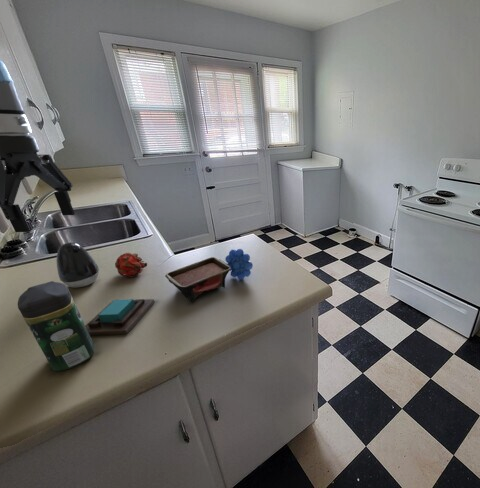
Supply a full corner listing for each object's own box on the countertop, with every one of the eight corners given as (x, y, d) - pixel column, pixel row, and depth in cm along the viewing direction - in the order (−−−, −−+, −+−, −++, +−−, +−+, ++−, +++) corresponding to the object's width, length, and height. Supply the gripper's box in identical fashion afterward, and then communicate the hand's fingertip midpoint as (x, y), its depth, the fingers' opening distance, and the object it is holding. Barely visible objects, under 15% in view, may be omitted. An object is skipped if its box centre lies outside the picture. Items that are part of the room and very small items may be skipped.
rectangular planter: (235, 293, 91) (234, 264, 89) (178, 309, 79) (176, 276, 76) (216, 280, 101) (215, 254, 99) (163, 293, 88) (160, 264, 86)
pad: (120, 322, 73) (117, 314, 72) (101, 322, 72) (98, 315, 71) (135, 306, 79) (133, 298, 78) (117, 307, 79) (115, 299, 78)
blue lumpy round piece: (261, 277, 97) (258, 246, 92) (249, 286, 91) (245, 254, 87) (236, 270, 102) (232, 241, 97) (223, 278, 96) (218, 248, 91)
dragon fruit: (127, 271, 104) (144, 284, 99) (103, 268, 96) (120, 281, 91) (137, 251, 105) (155, 263, 100) (114, 246, 97) (132, 258, 92)
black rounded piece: (77, 294, 87) (58, 251, 81) (57, 288, 90) (38, 246, 84) (109, 279, 96) (95, 239, 90) (90, 274, 99) (75, 235, 93)
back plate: (127, 333, 70) (124, 326, 69) (78, 336, 70) (75, 328, 69) (154, 302, 83) (152, 295, 82) (114, 303, 82) (111, 297, 81)
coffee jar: (49, 354, 64) (13, 287, 57) (92, 337, 69) (64, 274, 62) (51, 379, 58) (11, 307, 50) (98, 358, 63) (67, 290, 55)
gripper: (-35, 136, 51) (16, 240, 59) (70, 133, 74) (96, 209, 82) (-78, 136, 50) (-21, 241, 59) (41, 134, 73) (70, 209, 82)
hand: (48, 222), depth 70 cm, fingers open, 13 cm apart
